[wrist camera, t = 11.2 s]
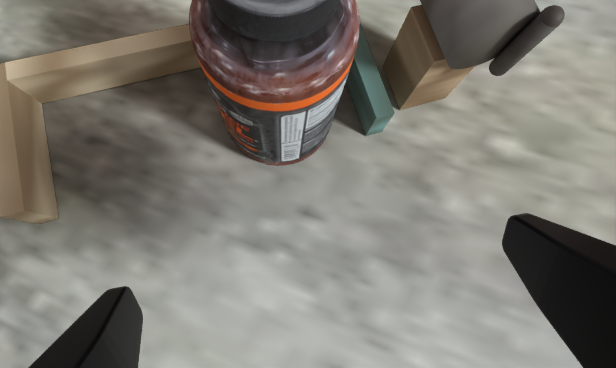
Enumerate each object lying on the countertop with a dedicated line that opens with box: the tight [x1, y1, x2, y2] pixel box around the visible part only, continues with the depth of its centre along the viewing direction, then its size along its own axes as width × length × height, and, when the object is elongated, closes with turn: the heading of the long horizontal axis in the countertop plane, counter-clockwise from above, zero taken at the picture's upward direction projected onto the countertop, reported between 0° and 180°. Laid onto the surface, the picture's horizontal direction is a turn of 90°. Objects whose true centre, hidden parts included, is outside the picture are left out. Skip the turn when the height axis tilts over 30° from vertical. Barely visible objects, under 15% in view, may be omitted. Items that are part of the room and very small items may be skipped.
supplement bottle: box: [189, 0, 360, 166], centre depth 15 cm, size 6×6×11 cm
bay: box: [0, 24, 394, 224], centre depth 19 cm, size 19×8×2 cm, turn 107°
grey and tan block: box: [383, 0, 564, 110], centre depth 17 cm, size 4×5×9 cm
